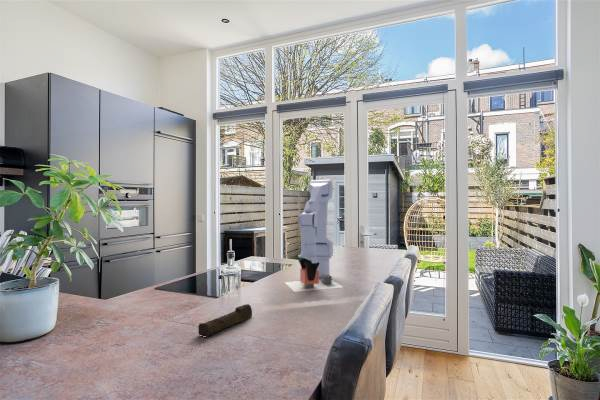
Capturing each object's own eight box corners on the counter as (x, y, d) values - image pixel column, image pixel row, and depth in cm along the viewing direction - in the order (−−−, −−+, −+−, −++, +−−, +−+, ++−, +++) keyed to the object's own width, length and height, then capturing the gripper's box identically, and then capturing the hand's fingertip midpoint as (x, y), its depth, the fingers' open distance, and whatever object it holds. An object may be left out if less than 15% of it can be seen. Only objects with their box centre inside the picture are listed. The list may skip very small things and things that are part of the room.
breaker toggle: (304, 286, 134) (304, 278, 134) (311, 285, 135) (311, 278, 135) (306, 288, 132) (306, 280, 132) (313, 287, 132) (313, 279, 132)
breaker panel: (284, 285, 142) (284, 275, 142) (329, 282, 148) (329, 271, 148) (294, 295, 128) (294, 283, 128) (344, 291, 134) (344, 279, 134)
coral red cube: (300, 281, 136) (300, 268, 136) (313, 280, 137) (313, 267, 137) (304, 284, 130) (304, 271, 130) (318, 283, 132) (318, 270, 132)
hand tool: (206, 340, 89) (206, 322, 89) (197, 336, 92) (197, 319, 91) (258, 319, 104) (258, 304, 104) (248, 317, 107) (248, 302, 107)
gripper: (293, 241, 139) (293, 275, 139) (304, 246, 125) (304, 283, 126) (309, 240, 141) (310, 274, 142) (322, 245, 128) (322, 282, 128)
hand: (308, 278), depth 134 cm, fingers closed on coral red cube, 5 cm apart
